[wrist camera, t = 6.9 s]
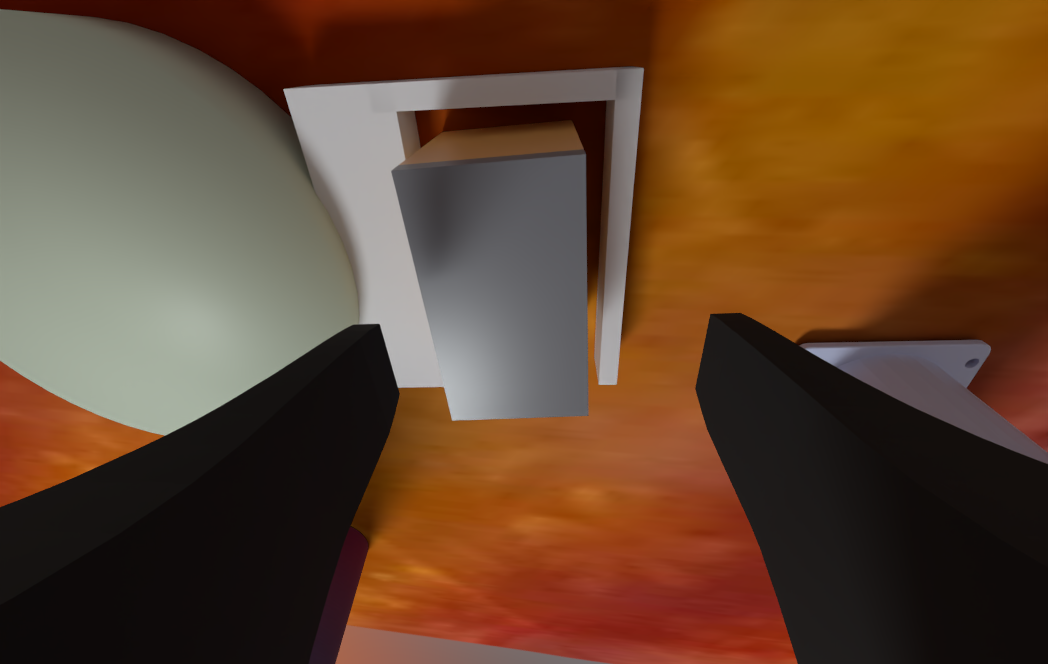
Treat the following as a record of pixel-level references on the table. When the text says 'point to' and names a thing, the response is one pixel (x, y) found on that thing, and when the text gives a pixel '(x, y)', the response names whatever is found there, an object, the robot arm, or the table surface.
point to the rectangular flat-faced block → (503, 266)
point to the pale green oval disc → (229, 215)
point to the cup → (340, 599)
